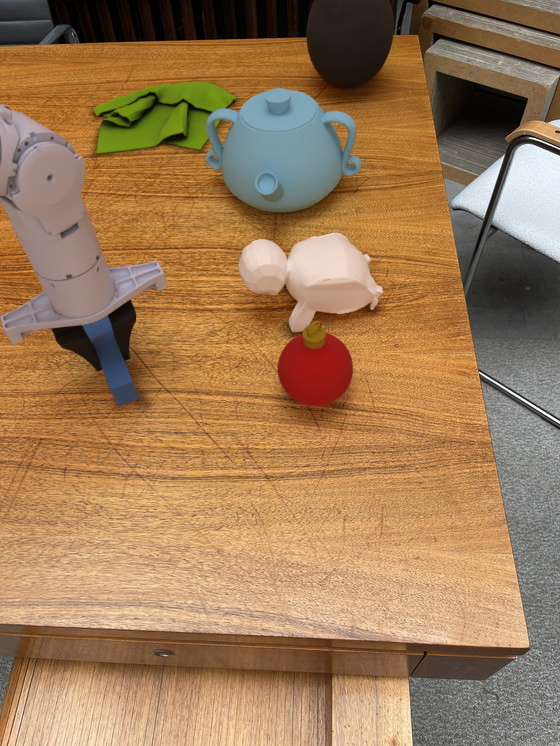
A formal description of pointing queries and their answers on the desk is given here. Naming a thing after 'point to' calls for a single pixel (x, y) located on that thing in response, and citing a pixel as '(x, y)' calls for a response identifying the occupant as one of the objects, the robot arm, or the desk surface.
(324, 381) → the christmas ornament
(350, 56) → the decorative egg
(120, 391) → the blue long-handled part
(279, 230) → the desk surface
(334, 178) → the teapot
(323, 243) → the white animal figurine
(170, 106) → the cloth
